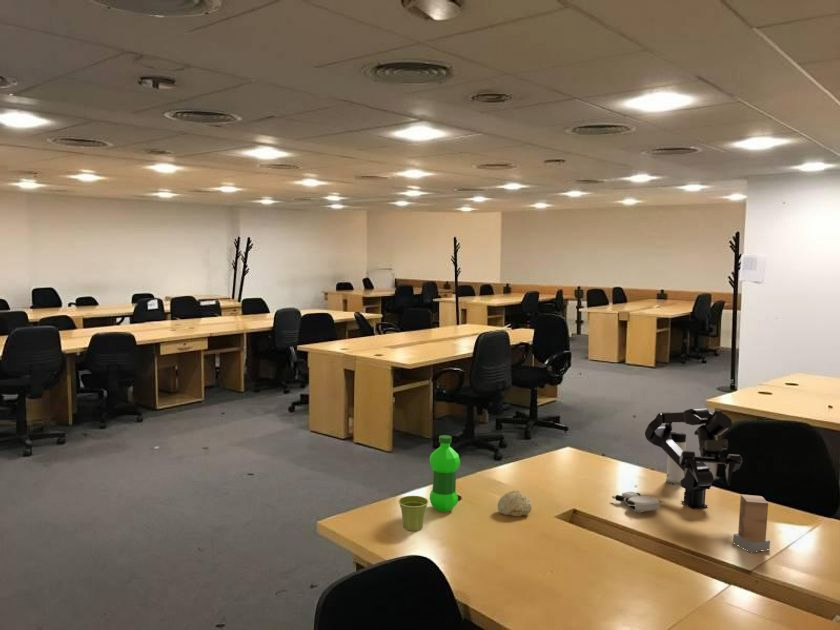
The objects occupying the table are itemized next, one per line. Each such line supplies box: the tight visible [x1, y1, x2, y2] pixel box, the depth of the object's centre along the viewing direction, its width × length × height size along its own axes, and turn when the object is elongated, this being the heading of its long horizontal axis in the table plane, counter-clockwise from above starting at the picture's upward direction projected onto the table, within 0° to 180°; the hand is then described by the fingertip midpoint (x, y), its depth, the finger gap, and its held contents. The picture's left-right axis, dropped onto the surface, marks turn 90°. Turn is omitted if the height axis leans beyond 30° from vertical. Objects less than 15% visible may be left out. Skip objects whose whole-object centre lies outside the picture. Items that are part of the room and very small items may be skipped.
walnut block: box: [737, 494, 769, 542], centre depth 201 cm, size 6×6×12 cm
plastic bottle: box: [429, 434, 461, 513], centre depth 226 cm, size 10×10×25 cm
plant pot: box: [398, 495, 430, 532], centre depth 210 cm, size 9×9×9 cm
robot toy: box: [611, 491, 666, 513], centre depth 232 cm, size 12×4×15 cm
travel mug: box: [665, 431, 687, 485], centre depth 259 cm, size 6×7×20 cm
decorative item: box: [497, 489, 533, 517], centre depth 225 cm, size 12×9×10 cm
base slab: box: [732, 533, 771, 553], centre depth 202 cm, size 7×7×3 cm
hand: (713, 483), depth 218 cm, fingers open, 9 cm apart
